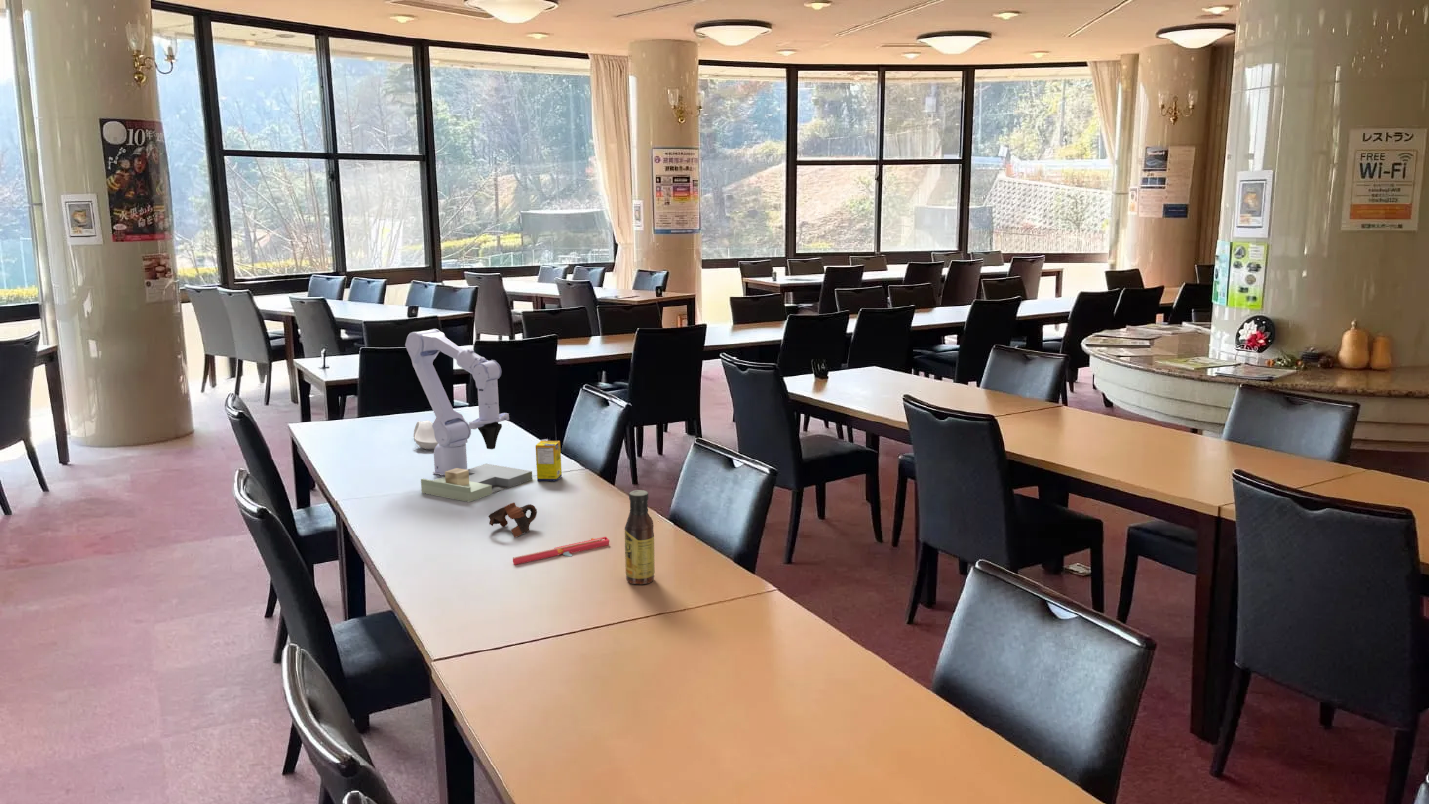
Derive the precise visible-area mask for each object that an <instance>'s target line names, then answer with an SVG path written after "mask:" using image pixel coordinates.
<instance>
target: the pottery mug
mask: <svg viewBox="0 0 1429 804" xmlns="http://www.w3.org/2000/svg"><path fill="white" fill-rule="evenodd" d="M537 510H538V509H537V508H536V506H534V505H533V504H529V503H528V504H526V505H523V506H517V504H516V502H511V503H509V504H506V505H504V506H502V507H500V508H498V509H497V510H495V511H492V512H491V513H489V515H488V516H487V517H488V519H489V526H492V527H493V526H494V525H498V524H499V525H500V526H501V527H502V528H505V527H506V526H507V525H509V521H508V520H507V519H506V516H508V518H509V519H510V520H514V521H515V524H516V526H515V527H513V528H511V529H510V530H511V532H510V533H512V535H513V538H518V537H519V536H521V535H523V534H527V533H529V532H530V525H531V523H532V522H533V521H534V520H535V519H536V517H537V513H538V511H537ZM528 511H530V515H529V516H527V512H528Z"/></svg>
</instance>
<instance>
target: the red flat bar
mask: <svg viewBox="0 0 1429 804" xmlns="http://www.w3.org/2000/svg"><path fill="white" fill-rule="evenodd" d="M604 546H606V547H607V546H610V539H609V538H608V537H607V536H602V537H597V538H594V537H592V538H590V539H589V540H584V541H579V542H574V543H569V544H565V545H561V546H557V547H556V546H555V547H553V548H551V549H550V548H549V549H546V550H542V551H537V552H533V553H528V554H522V555H518V556H515V557H512V562H513V565H515V566H516V565H521V564H525V563H529V562H535V561H539V560H543V559H549V558H552V557H557V556H559V555H563V556H565V557H569V558H571V557H572V556H573V553H578V552H582V551H587V550H592V549H596V548H600V547H604Z"/></svg>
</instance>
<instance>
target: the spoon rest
mask: <svg viewBox="0 0 1429 804" xmlns="http://www.w3.org/2000/svg"><path fill="white" fill-rule="evenodd" d="M433 423H434V422H431V421H430V420H424V421H420V420H418V421H417V422H416V425H415V427H414V429H413V438H414V441H415V443H416V444H417V445H418V446H419V447H420V448H422V449H425V450H433V451H434V449H435V447H436V446H437V445H438V443H437V441H436V439H435V435H434V429H433V427H432V425H433Z"/></svg>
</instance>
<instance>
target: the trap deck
mask: <svg viewBox="0 0 1429 804" xmlns="http://www.w3.org/2000/svg"><path fill="white" fill-rule="evenodd" d="M467 469H468V470H469V484H467V485H464V486H461V485H456V484H450V483H446V480H445V476H444V477H440V478H436V479H434V480H433V479H427V478H421V479H420V486H421V494H425V493H426V495H430V494H431V496H437V497H441V498H446V499H451V500H456V501H462V502H465V503H466V502H467V503H470V502H472V501H476V500H478V499H479V500H480V499H482V498H484V497H487V496H490V495H492V494H495V493H498V492H500V491H504V490H506V489H509V488H512V487H515V486H518V485H520V484H523V482H524V483H527V482H529V481H532V480H533V471H532V470H527V469H523V468H522V469H520V468H515V467H510V466H509V467H508V466H503V465H498V464H497V465H496V464H491V463H484V464H481V465H478V466H474V467H471V468H467Z"/></svg>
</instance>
